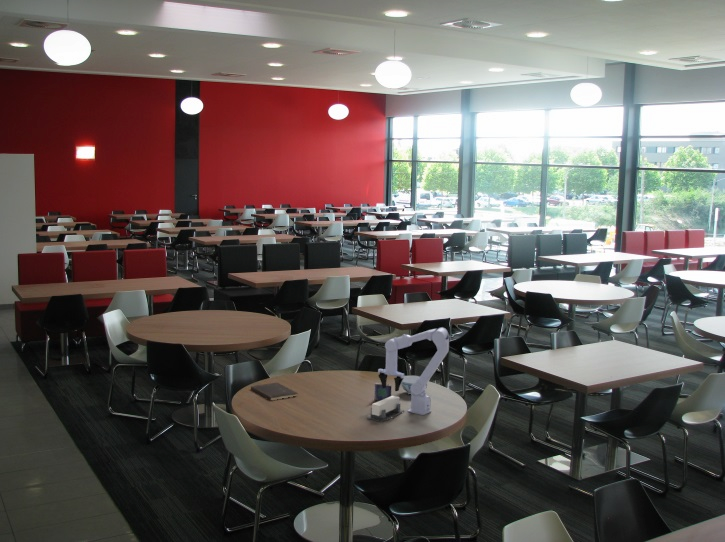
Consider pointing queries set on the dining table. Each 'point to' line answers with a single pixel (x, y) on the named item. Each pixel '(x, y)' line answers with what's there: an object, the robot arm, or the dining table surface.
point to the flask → (382, 392)
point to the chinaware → (408, 382)
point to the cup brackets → (385, 414)
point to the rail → (385, 405)
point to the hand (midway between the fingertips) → (390, 389)
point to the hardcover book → (273, 391)
